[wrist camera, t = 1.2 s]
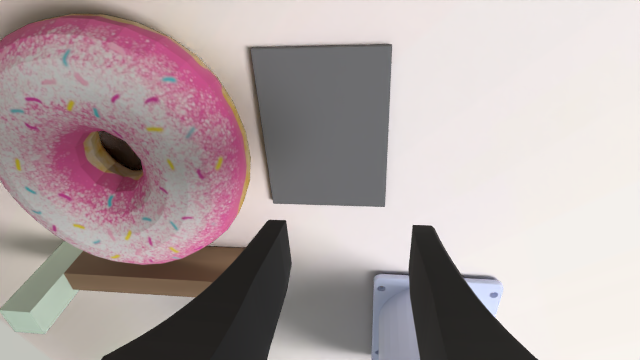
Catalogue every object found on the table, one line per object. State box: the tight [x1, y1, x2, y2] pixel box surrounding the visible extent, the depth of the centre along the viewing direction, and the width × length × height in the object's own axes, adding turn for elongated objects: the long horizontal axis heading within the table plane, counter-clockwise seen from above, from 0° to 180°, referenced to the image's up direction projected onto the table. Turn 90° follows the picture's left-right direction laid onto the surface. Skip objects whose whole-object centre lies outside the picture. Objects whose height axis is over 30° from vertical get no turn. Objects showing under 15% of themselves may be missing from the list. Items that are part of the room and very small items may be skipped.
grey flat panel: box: [251, 44, 392, 207], centre depth 21 cm, size 9×6×1 cm
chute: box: [0, 241, 291, 334], centre depth 20 cm, size 21×16×6 cm
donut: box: [0, 14, 251, 265], centre depth 21 cm, size 14×13×5 cm
